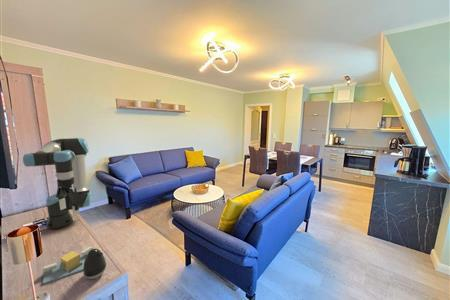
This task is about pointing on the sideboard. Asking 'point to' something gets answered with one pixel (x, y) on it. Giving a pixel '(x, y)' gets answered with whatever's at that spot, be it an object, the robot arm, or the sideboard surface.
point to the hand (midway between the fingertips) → (69, 211)
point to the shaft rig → (56, 272)
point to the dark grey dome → (94, 264)
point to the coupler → (70, 260)
